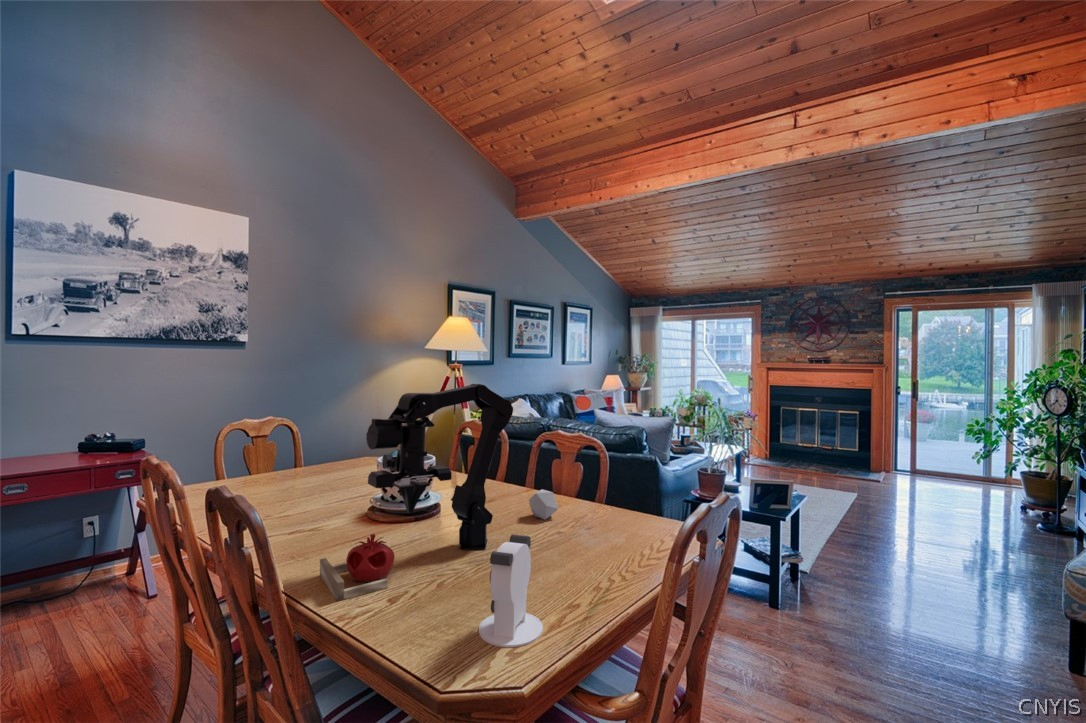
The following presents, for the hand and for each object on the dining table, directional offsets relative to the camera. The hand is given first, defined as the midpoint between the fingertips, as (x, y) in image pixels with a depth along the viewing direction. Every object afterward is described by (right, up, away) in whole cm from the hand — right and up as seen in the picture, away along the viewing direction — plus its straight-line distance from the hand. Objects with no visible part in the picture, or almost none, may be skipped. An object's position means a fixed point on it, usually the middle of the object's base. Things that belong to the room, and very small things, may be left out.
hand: (409, 512), depth 116 cm
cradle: (-10, -12, -9) cm, 18 cm away
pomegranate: (-7, -12, -7) cm, 16 cm away
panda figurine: (+26, -12, -28) cm, 40 cm away
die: (+32, -13, +37) cm, 50 cm away
